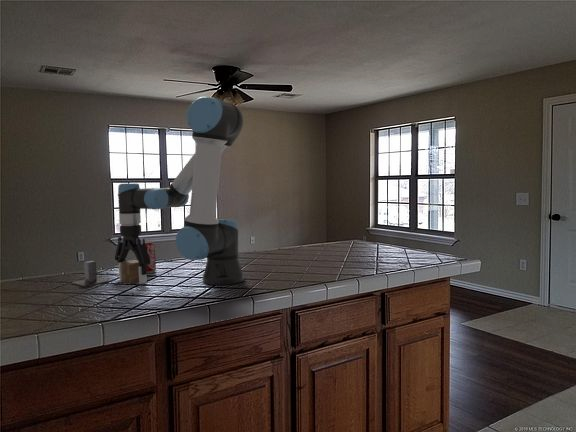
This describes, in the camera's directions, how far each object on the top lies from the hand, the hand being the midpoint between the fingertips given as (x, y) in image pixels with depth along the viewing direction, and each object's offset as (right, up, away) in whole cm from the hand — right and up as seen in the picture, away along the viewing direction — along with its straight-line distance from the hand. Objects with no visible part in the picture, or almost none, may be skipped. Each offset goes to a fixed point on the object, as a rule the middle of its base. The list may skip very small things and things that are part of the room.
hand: (132, 281), depth 162 cm
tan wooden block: (0, 0, 0) cm, 0 cm away
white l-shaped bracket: (-16, -1, -1) cm, 16 cm away
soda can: (0, +1, +16) cm, 16 cm away
